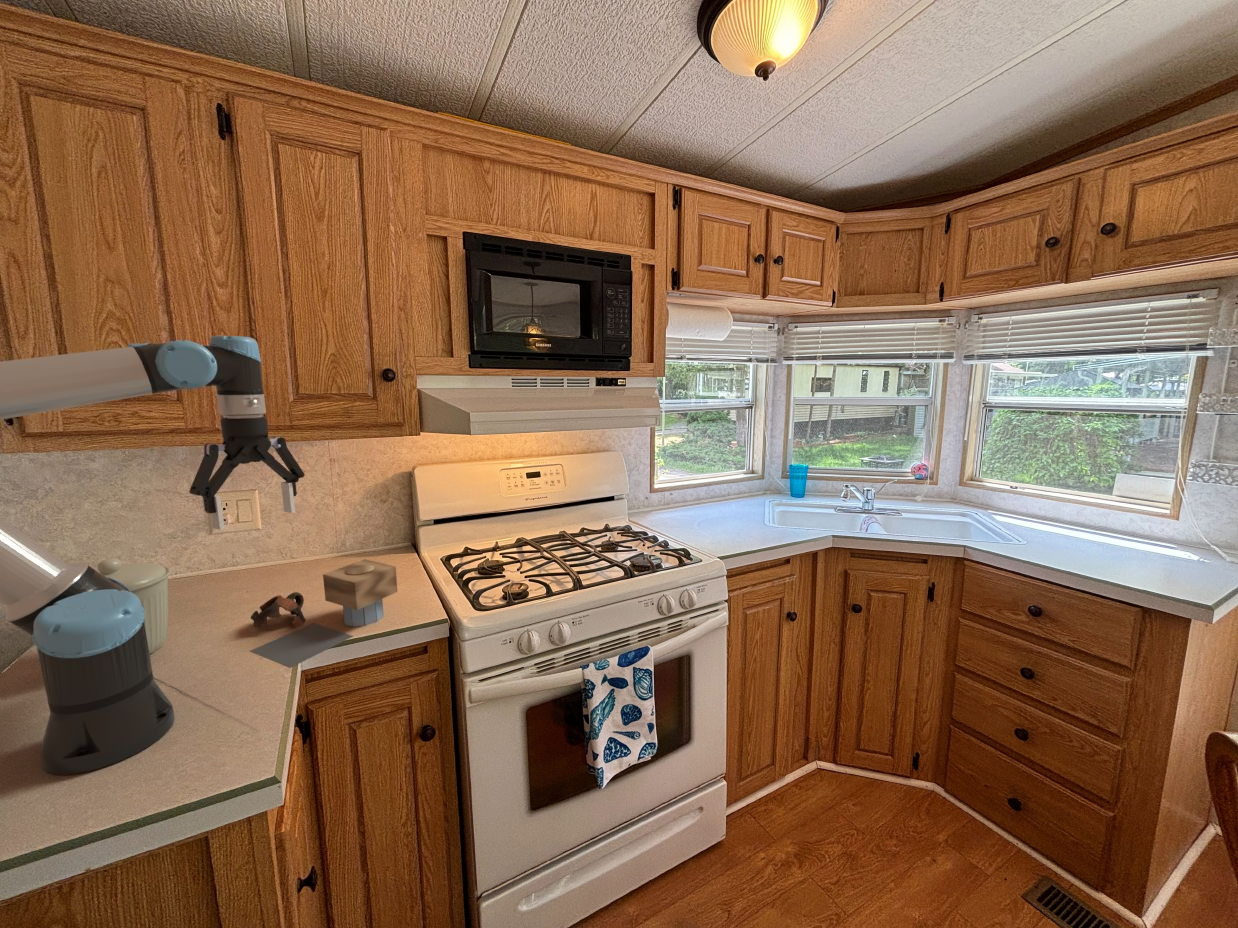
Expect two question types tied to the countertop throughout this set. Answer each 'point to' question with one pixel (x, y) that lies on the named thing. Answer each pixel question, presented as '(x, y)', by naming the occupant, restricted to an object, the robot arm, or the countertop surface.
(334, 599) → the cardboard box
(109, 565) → the canister
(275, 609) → the brown jointed arch
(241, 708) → the countertop surface
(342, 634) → the mat
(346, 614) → the faceted blue cup
